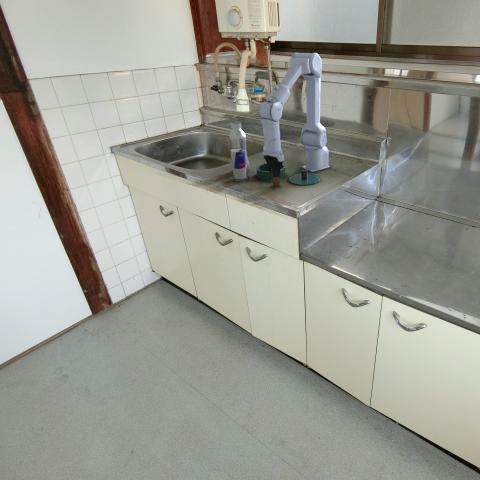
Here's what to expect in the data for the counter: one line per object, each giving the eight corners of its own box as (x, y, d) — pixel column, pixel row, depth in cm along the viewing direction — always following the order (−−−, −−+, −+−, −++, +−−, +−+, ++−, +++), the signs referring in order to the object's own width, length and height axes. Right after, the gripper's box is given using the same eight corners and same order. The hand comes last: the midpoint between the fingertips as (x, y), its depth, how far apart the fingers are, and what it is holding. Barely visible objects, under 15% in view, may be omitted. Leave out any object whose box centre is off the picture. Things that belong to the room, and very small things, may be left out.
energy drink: (246, 182, 141) (242, 152, 135) (233, 182, 141) (228, 152, 135) (249, 177, 145) (245, 147, 139) (236, 177, 146) (231, 148, 139)
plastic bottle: (253, 171, 151) (248, 122, 141) (240, 175, 147) (233, 125, 137) (244, 168, 155) (238, 120, 145) (231, 172, 151) (224, 123, 141)
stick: (272, 186, 136) (270, 166, 132) (277, 185, 137) (276, 165, 133) (274, 188, 134) (272, 168, 130) (280, 186, 135) (278, 167, 131)
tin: (275, 169, 153) (274, 160, 150) (290, 176, 145) (290, 167, 143) (252, 176, 146) (251, 166, 144) (267, 183, 139) (266, 174, 137)
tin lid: (307, 173, 148) (307, 162, 146) (326, 181, 140) (326, 170, 138) (283, 180, 142) (282, 169, 139) (301, 189, 133) (301, 178, 131)
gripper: (253, 135, 130) (257, 171, 137) (269, 144, 119) (272, 183, 126) (272, 132, 133) (275, 168, 140) (288, 141, 122) (291, 179, 129)
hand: (275, 175), depth 133 cm, fingers closed on stick, 2 cm apart
